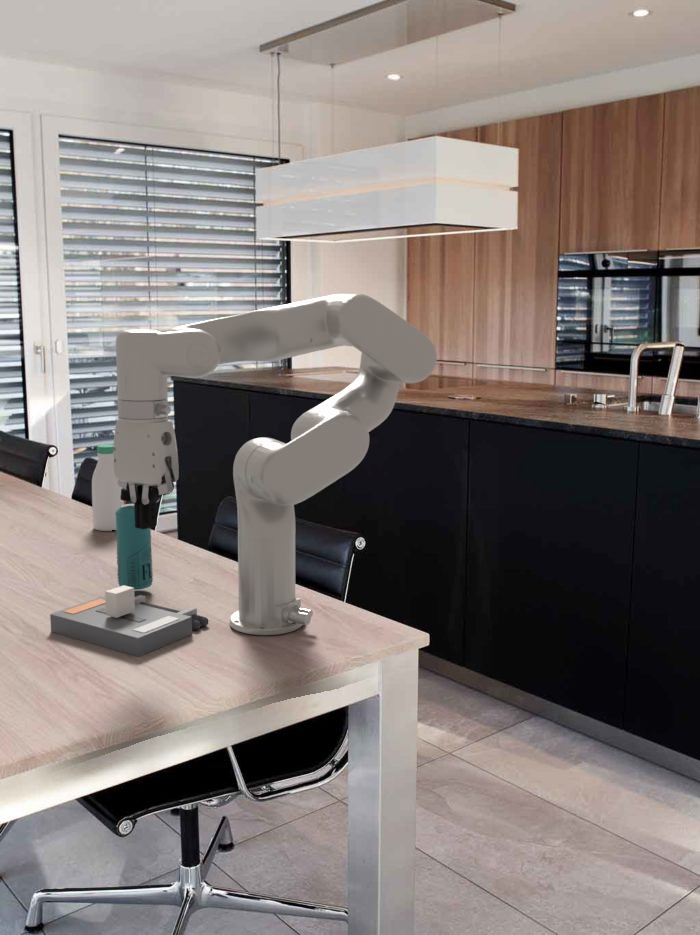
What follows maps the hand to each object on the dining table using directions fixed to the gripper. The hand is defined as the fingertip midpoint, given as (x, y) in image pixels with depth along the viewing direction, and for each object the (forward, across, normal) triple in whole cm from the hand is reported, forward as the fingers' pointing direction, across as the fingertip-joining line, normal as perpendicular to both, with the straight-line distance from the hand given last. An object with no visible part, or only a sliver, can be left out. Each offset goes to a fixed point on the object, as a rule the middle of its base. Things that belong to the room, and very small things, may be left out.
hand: (146, 526), depth 149 cm
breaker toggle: (+15, +6, 0) cm, 17 cm away
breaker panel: (+19, +6, 0) cm, 20 cm away
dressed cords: (+19, +6, -9) cm, 22 cm away
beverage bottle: (+19, +20, -17) cm, 33 cm away
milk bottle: (+19, +62, -50) cm, 82 cm away
